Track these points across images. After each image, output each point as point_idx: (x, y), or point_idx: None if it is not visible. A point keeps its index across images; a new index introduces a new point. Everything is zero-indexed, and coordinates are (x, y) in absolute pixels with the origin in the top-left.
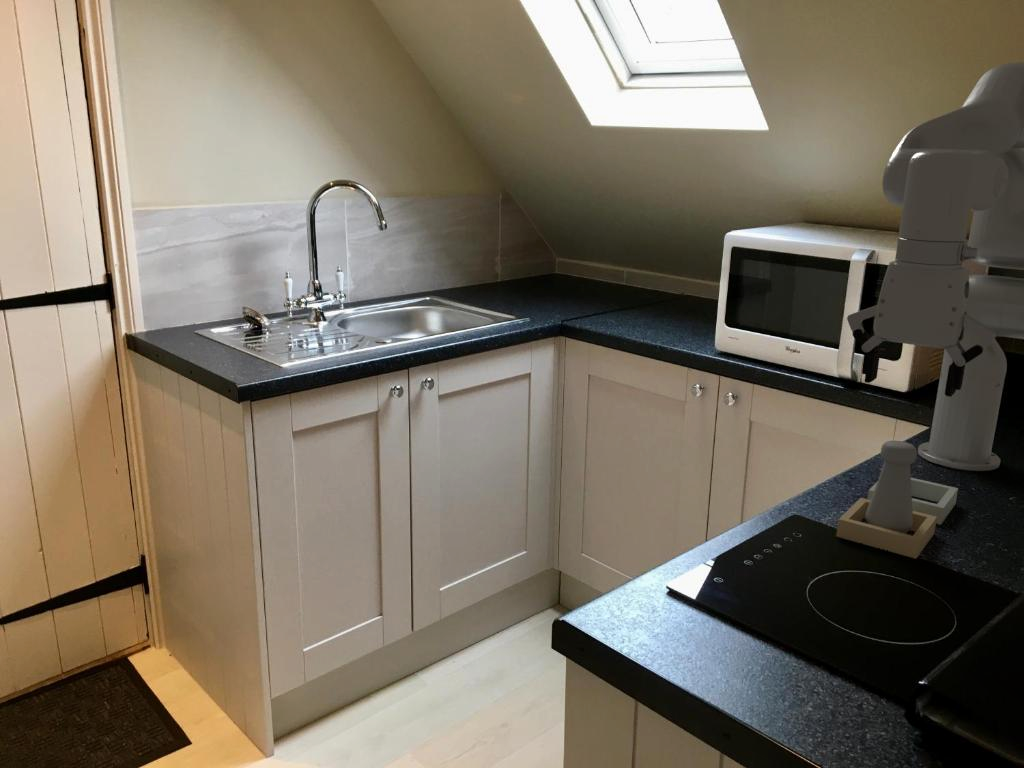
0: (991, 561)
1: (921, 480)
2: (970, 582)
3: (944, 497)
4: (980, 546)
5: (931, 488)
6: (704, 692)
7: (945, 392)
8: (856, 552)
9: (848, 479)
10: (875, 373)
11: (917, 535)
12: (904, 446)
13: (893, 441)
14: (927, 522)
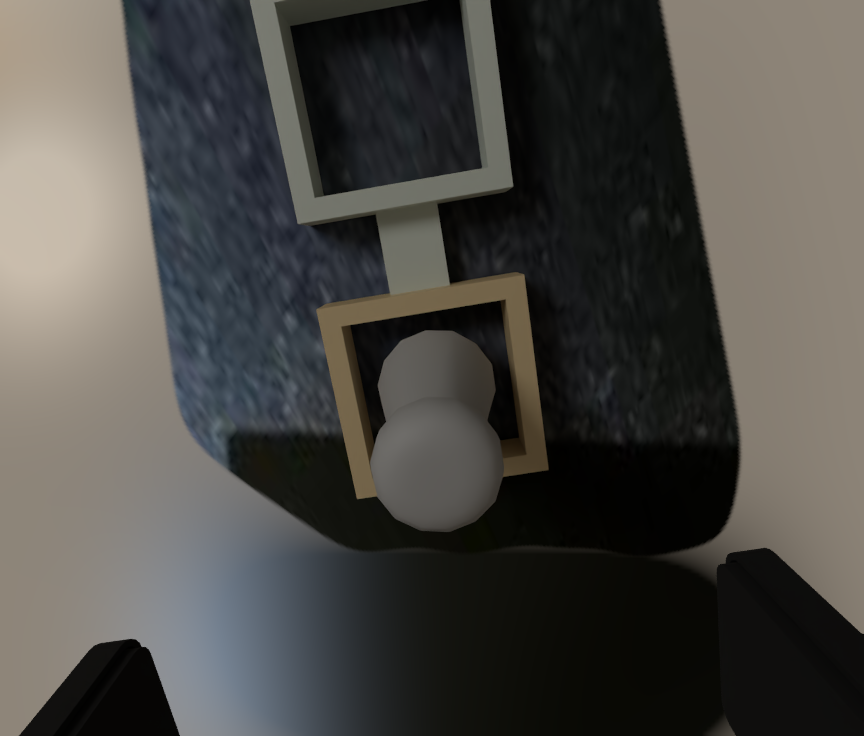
0: (668, 327)
1: None
2: (661, 472)
3: (482, 82)
4: (626, 255)
5: None
6: None
7: (739, 733)
8: None
9: (152, 34)
10: (133, 730)
11: (534, 443)
12: (467, 504)
13: (408, 479)
14: (520, 338)
